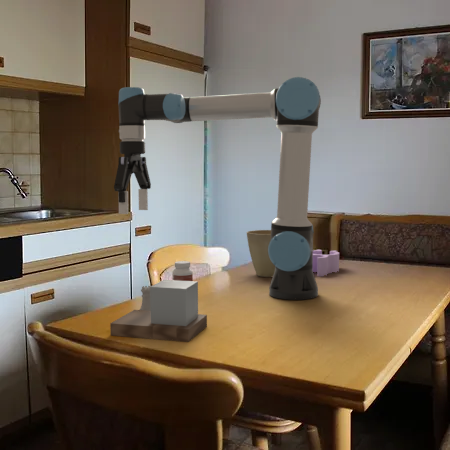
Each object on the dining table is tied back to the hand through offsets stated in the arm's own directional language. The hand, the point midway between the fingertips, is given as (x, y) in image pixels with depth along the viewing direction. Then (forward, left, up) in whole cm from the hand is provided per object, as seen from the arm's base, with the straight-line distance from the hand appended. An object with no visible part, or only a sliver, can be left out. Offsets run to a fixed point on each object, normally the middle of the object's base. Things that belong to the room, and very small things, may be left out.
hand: (133, 211), depth 188 cm
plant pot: (-31, -48, -27) cm, 63 cm away
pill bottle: (-14, -5, -27) cm, 30 cm away
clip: (-49, -61, -27) cm, 82 cm away
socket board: (-21, +31, -26) cm, 46 cm away
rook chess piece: (-12, +18, -27) cm, 34 cm away
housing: (-25, +31, -24) cm, 46 cm away
